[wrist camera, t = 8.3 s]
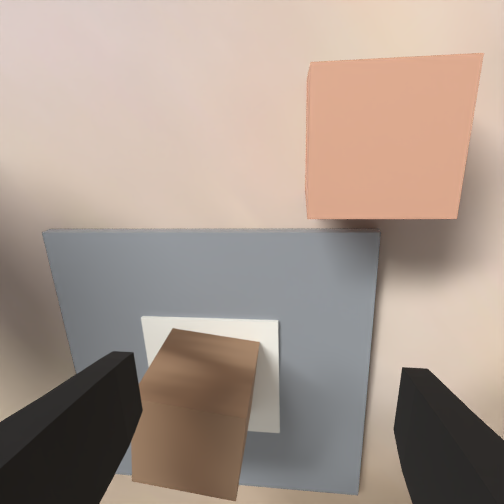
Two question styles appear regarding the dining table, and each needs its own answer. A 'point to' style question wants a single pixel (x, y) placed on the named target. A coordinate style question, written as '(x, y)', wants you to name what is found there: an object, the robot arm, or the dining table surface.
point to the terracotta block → (389, 136)
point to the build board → (240, 328)
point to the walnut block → (195, 414)
